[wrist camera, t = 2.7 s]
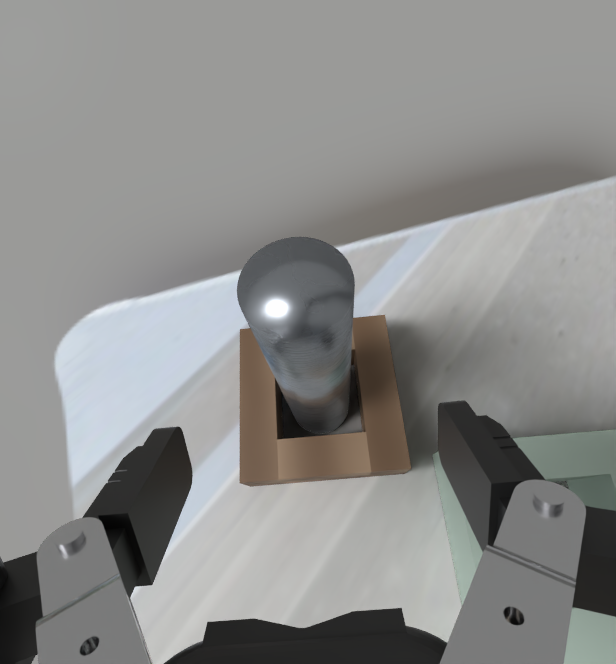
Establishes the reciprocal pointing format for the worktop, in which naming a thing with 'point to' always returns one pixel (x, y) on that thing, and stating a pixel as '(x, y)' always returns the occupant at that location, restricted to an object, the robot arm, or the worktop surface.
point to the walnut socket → (329, 450)
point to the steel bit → (303, 325)
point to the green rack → (582, 479)
